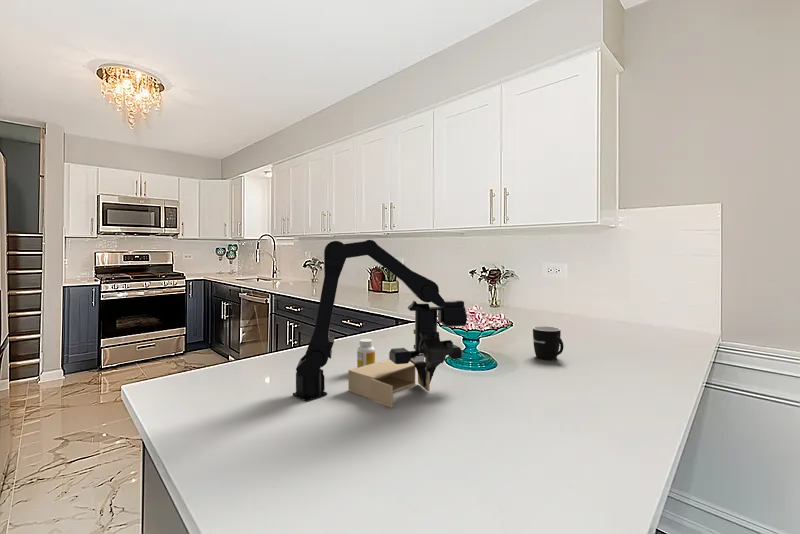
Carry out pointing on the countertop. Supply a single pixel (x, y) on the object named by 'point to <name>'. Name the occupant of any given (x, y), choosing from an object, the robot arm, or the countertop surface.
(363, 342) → the supplement bottle
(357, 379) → the carton
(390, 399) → the left flap
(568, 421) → the countertop surface
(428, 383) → the right flap
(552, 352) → the mug
